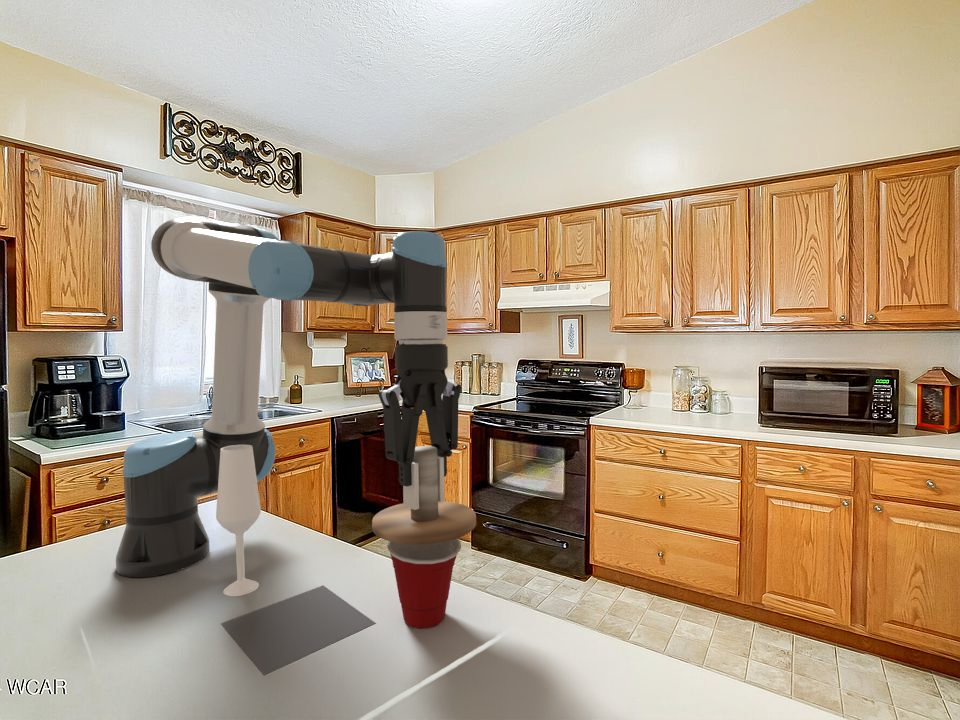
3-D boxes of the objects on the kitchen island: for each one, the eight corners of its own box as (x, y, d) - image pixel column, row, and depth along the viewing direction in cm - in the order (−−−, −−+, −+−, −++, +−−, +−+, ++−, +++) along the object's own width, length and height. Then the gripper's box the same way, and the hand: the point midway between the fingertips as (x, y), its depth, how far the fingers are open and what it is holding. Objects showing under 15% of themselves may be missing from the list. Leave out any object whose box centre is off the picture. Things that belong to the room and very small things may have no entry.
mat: (220, 626, 74) (220, 623, 74) (323, 588, 85) (323, 585, 85) (264, 678, 63) (264, 674, 63) (375, 626, 74) (375, 623, 74)
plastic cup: (436, 651, 68) (435, 563, 67) (372, 630, 73) (371, 548, 72) (475, 612, 78) (474, 534, 77) (416, 595, 83) (415, 522, 82)
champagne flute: (263, 577, 89) (258, 441, 88) (263, 595, 83) (258, 449, 82) (220, 585, 87) (215, 445, 86) (217, 604, 80) (211, 453, 79)
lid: (352, 524, 75) (350, 449, 74) (432, 500, 85) (431, 435, 85) (414, 554, 64) (412, 467, 63) (497, 523, 74) (496, 448, 74)
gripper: (386, 343, 65) (389, 525, 66) (481, 341, 77) (483, 495, 78) (355, 343, 70) (359, 511, 71) (449, 341, 82) (451, 485, 83)
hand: (424, 502), depth 74 cm, fingers closed on lid, 4 cm apart
